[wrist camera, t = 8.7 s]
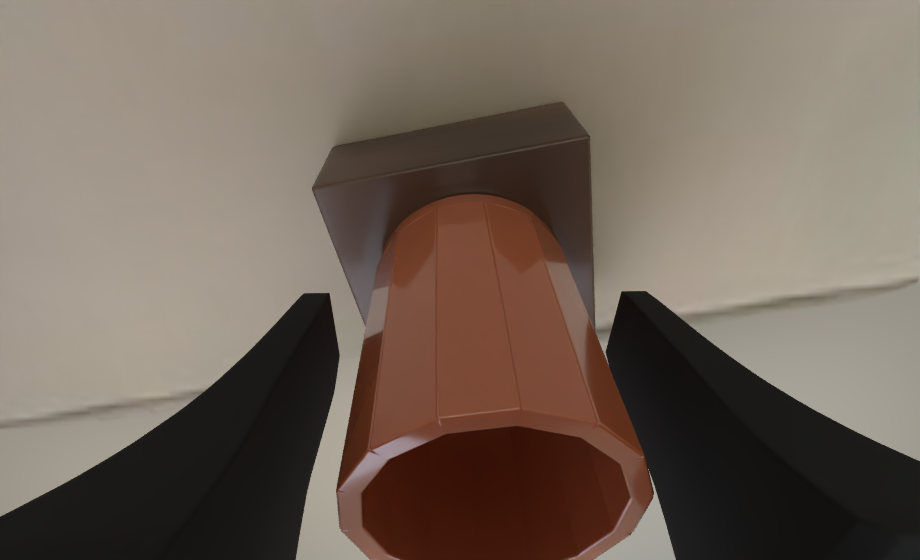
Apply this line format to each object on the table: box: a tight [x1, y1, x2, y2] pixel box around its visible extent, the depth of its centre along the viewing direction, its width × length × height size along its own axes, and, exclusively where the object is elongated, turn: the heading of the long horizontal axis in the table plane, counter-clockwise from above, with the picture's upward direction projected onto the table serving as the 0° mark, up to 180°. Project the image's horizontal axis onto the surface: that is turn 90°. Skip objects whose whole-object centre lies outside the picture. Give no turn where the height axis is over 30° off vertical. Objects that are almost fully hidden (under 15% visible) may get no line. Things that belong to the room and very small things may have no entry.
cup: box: [336, 194, 654, 560], centre depth 11 cm, size 5×5×7 cm
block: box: [312, 102, 595, 331], centre depth 15 cm, size 7×7×3 cm
